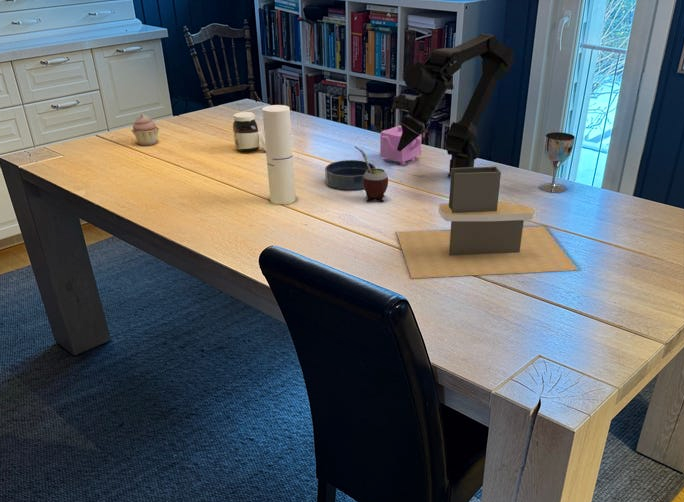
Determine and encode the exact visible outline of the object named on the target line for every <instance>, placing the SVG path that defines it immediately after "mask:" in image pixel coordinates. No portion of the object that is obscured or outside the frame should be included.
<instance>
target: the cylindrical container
mask: <svg viewBox="0 0 684 502" xmlns="http://www.w3.org/2000/svg"><path fill="white" fill-rule="evenodd" d="M261 111H262V122H263V123H262V124H263V130H264V134H265V145H266V151H265V156H266V166H267V167H266V168H267V178H268V190H269V202H270V203H272V204H275V205H289V204H292V203H294V202H296V199H297V197H296V184H295V168H294V155H293V153H294V152H293V139H292V137H293V136H292V124H291V109H290V106H288V105H284V104H271V105H266V106H263V107H262V108H261Z"/></svg>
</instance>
